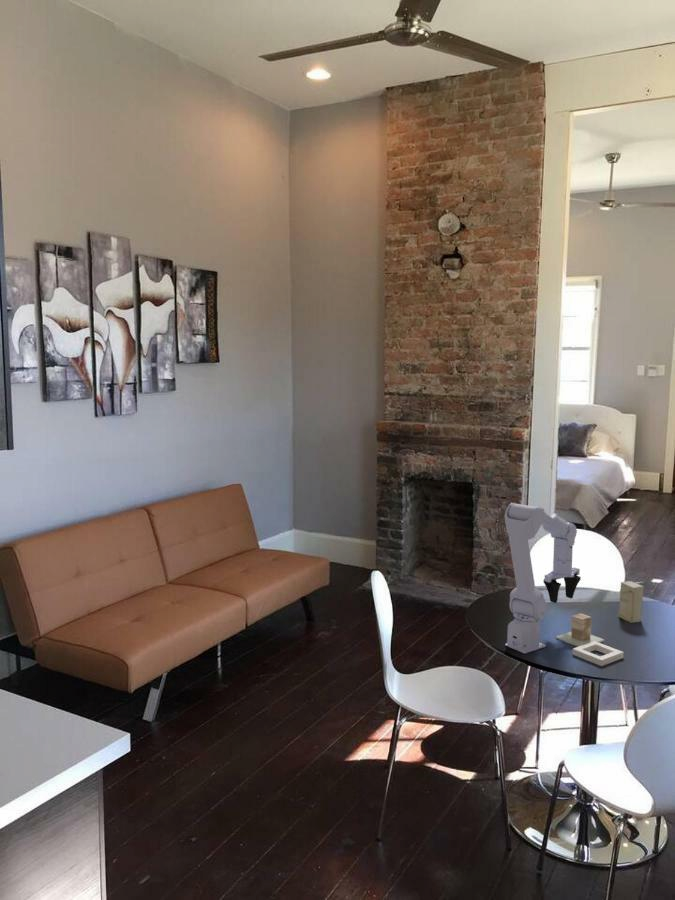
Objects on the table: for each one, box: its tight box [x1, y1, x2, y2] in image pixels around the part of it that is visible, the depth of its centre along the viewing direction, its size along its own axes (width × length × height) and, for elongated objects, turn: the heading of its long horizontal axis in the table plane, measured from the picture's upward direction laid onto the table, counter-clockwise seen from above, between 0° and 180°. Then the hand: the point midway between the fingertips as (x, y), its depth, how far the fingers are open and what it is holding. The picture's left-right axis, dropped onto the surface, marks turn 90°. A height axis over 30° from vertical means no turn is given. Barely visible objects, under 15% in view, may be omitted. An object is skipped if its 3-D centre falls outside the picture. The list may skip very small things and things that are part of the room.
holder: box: [572, 641, 625, 667], centre depth 215 cm, size 10×10×2 cm
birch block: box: [570, 613, 592, 641], centre depth 227 cm, size 4×4×7 cm
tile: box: [555, 631, 605, 647], centre depth 228 cm, size 10×10×1 cm
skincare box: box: [618, 580, 645, 624], centre depth 244 cm, size 6×4×12 cm
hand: (561, 599), depth 237 cm, fingers open, 7 cm apart
